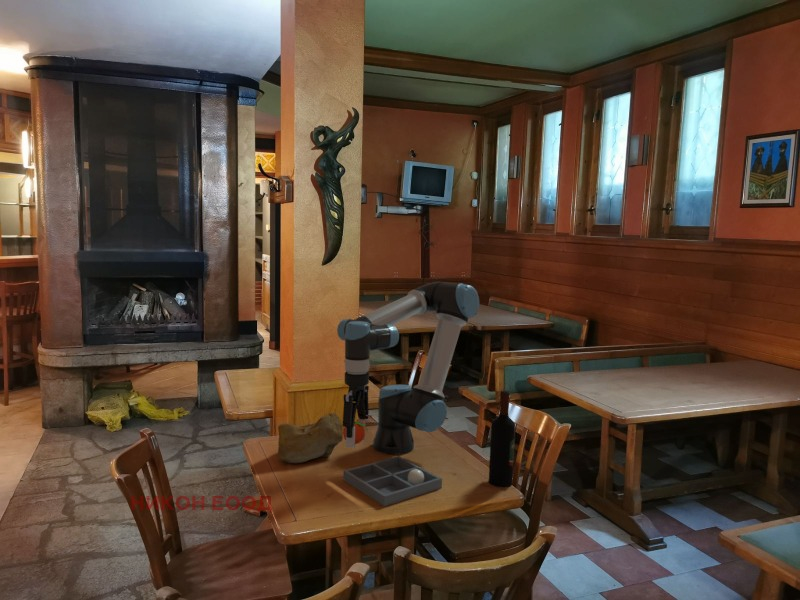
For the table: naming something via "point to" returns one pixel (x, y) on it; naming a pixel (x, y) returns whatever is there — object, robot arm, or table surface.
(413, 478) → the cream egg
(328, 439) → the rough brown rock
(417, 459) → the table surface
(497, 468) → the wine bottle
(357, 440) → the clementine
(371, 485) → the divided tray
